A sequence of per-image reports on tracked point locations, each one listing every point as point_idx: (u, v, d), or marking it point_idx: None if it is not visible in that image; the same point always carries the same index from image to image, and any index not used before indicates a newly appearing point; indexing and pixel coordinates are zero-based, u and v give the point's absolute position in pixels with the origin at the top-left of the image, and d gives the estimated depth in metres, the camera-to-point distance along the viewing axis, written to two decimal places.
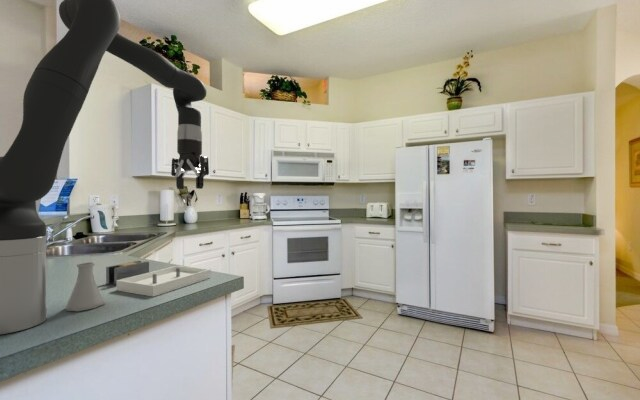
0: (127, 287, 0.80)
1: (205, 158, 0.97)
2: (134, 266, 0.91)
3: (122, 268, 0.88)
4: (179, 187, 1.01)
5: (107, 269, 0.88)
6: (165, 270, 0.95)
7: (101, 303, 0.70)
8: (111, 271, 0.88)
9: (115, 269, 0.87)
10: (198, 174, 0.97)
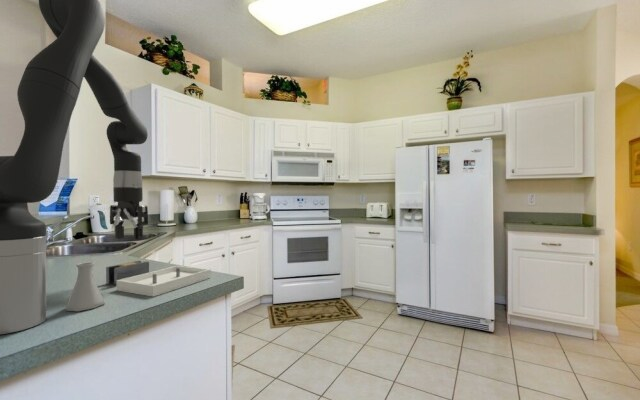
0: (127, 287, 0.80)
1: (143, 207, 0.89)
2: (134, 266, 0.91)
3: (122, 268, 0.88)
4: (118, 237, 0.93)
5: (107, 269, 0.88)
6: (165, 270, 0.95)
7: (101, 303, 0.70)
8: (111, 271, 0.88)
9: (115, 269, 0.87)
10: (136, 225, 0.89)
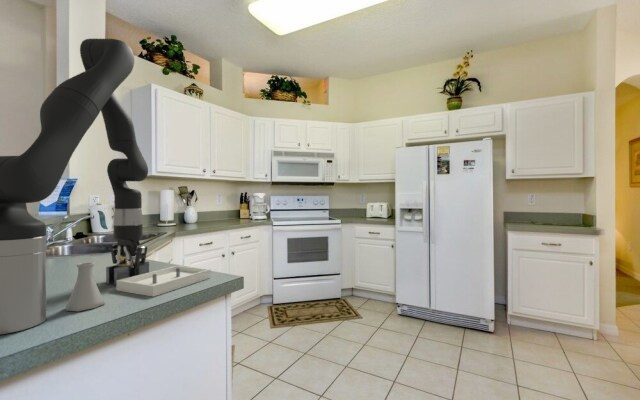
0: (127, 287, 0.80)
1: (143, 249, 0.89)
2: None
3: (122, 268, 0.88)
4: None
5: (107, 269, 0.88)
6: (165, 270, 0.95)
7: (101, 303, 0.70)
8: (111, 271, 0.88)
9: (115, 269, 0.87)
10: (132, 266, 0.90)
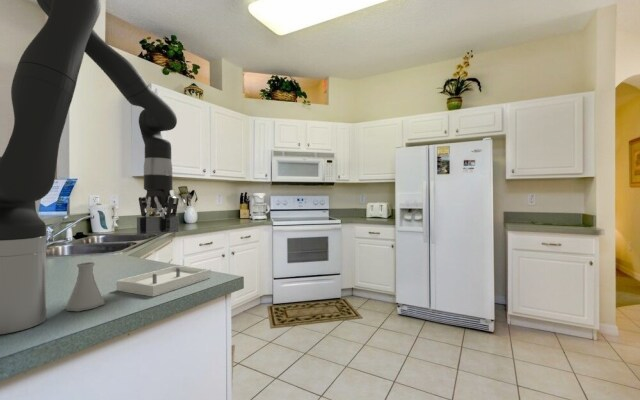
0: (127, 287, 0.80)
1: (175, 199, 0.87)
2: None
3: (154, 218, 0.85)
4: None
5: (138, 219, 0.85)
6: (165, 270, 0.95)
7: (102, 303, 0.70)
8: (142, 222, 0.86)
9: (147, 218, 0.84)
10: (164, 217, 0.87)
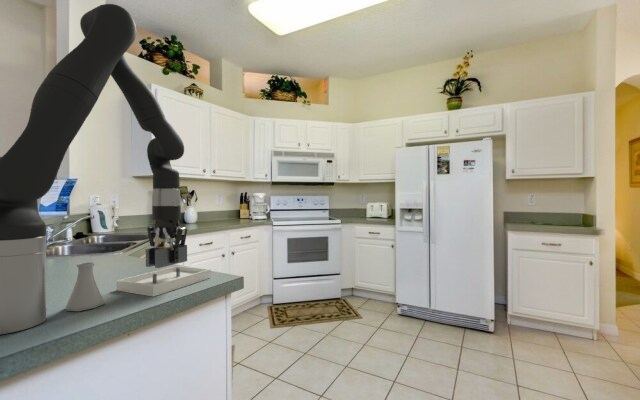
0: (127, 287, 0.80)
1: (183, 231, 0.86)
2: None
3: (162, 250, 0.84)
4: None
5: (147, 251, 0.85)
6: (165, 270, 0.95)
7: (102, 303, 0.70)
8: (150, 254, 0.85)
9: (156, 251, 0.83)
10: (172, 248, 0.86)
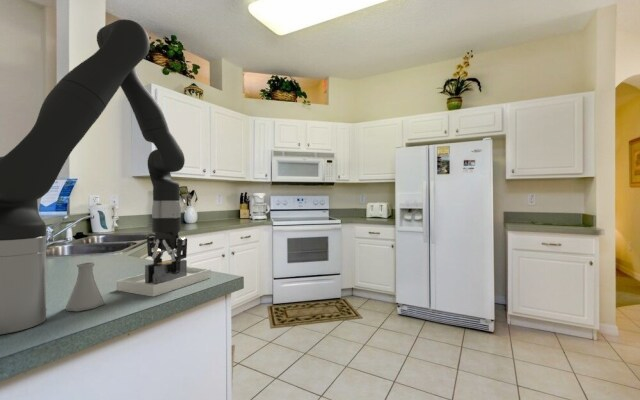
0: (127, 287, 0.80)
1: (183, 241, 0.86)
2: None
3: (162, 266, 0.84)
4: None
5: (146, 267, 0.84)
6: None
7: (102, 303, 0.70)
8: (150, 270, 0.85)
9: (155, 267, 0.83)
10: (174, 259, 0.86)
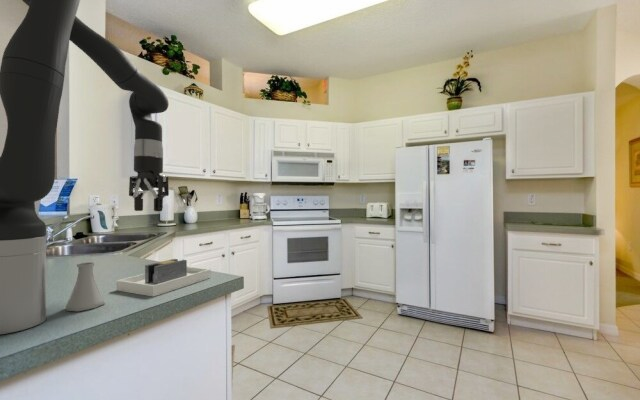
0: (127, 287, 0.80)
1: (164, 177, 0.86)
2: (173, 264, 0.88)
3: (162, 266, 0.84)
4: (137, 209, 0.90)
5: (146, 267, 0.84)
6: None
7: (102, 303, 0.70)
8: (150, 270, 0.85)
9: (155, 267, 0.83)
10: (156, 195, 0.86)
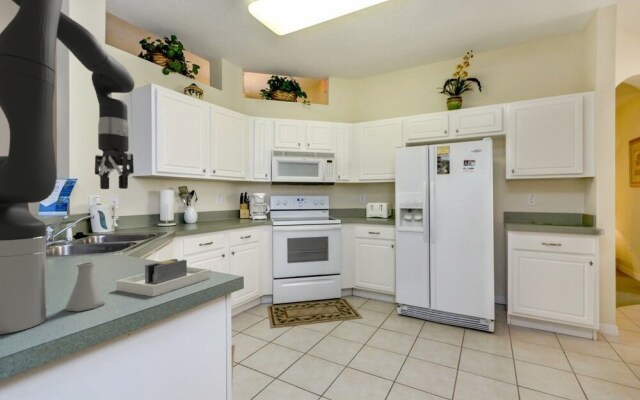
0: (127, 287, 0.80)
1: (129, 155, 0.87)
2: (173, 264, 0.88)
3: (162, 266, 0.84)
4: (103, 187, 0.91)
5: (146, 267, 0.84)
6: None
7: (102, 303, 0.70)
8: (150, 270, 0.85)
9: (155, 267, 0.83)
10: (121, 173, 0.87)
